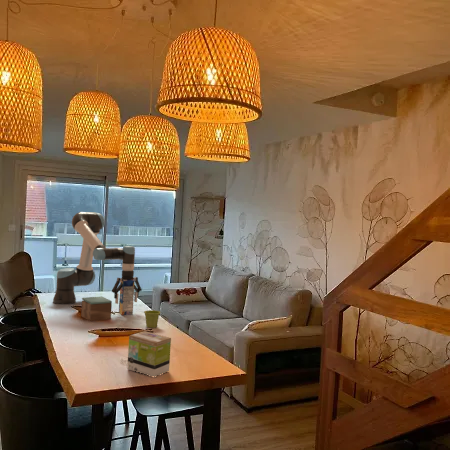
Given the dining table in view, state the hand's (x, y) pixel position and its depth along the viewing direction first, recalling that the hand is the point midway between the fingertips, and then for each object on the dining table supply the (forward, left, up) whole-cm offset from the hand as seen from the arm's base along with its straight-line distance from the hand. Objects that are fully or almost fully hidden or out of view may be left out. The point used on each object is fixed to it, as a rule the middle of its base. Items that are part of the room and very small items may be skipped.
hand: (126, 302), depth 293 cm
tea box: (+102, -42, -7) cm, 111 cm away
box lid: (+4, -22, +3) cm, 23 cm away
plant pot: (+38, -3, -7) cm, 39 cm away
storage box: (+4, -22, -7) cm, 23 cm away
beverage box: (0, 0, -7) cm, 7 cm away
